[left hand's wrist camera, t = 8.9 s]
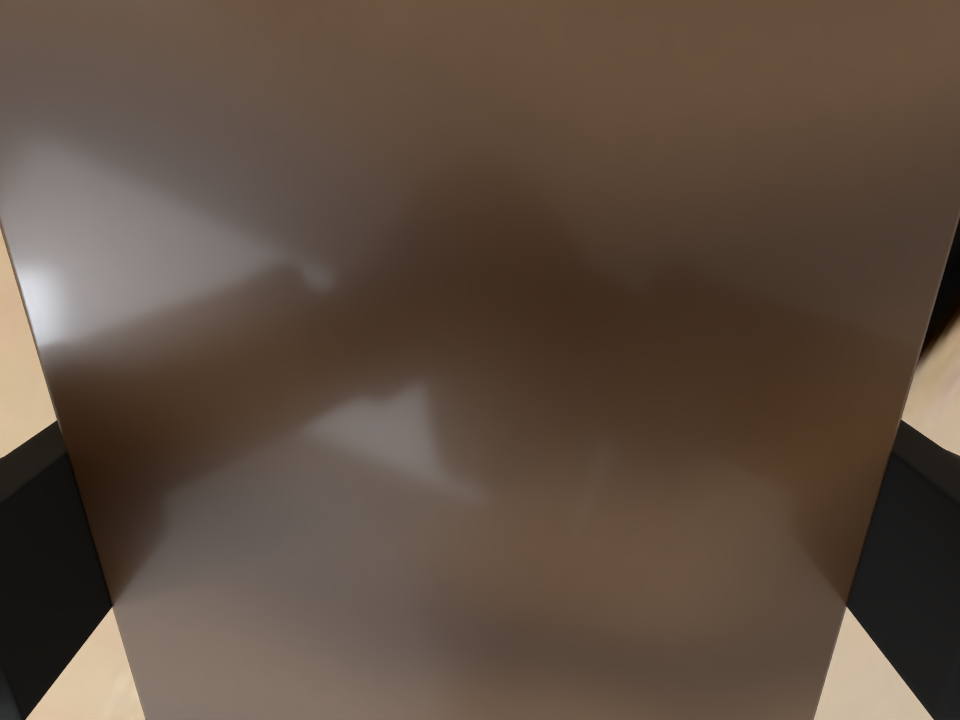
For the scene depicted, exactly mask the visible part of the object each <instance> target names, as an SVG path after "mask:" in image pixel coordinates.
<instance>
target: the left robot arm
mask: <svg viewBox="0 0 960 720" xmlns="http://www.w3.org/2000/svg"><path fill="white" fill-rule="evenodd" d="M847 607H848V609H849V610H850V611H851V613H852V614H853V615H854V616H855V618H856V619H857V620H858V622H859V623H860V624H861V626H862V627H863V628H864V629H865V631H866V632H867V633H868V635H869V636H870V637H871V639H872V640H873V641H874V642H875V644H876V645H877V646H878V648H879V649H880V650H881V652H882V653H883V654H884V655H885V657H886V658H887V659H888V661H889V662H890V663H891V665H892V666H893V667H894V668H895V670H896V671H897V672H898V674H899V675H900V676H901V678H902V679H903V680H904V681H905V683H906V684H907V685H908V687H909V688H910V689H911V691H912V692H913V693H914V694H915V696H916V697H917V698H918V700H919V701H920V702H921V704H922V705H923V706H924V707H925V709H926V710H927V711H928V713H929V714H930V715H931V717H932V718H933V719H934V720H960V456H959V455H956V454H954V453H952V452H950V451H947V450H945V449H943V448H942V447H940V446H939V445H937V444H936V443H934V442H933V441H931V440H930V439H929V438H927V437H926V436H924V435H923V434H921V433H920V432H918V431H917V430H915V429H914V428H913V427H911V426H910V425H908V424H907V423H905V422H904V421H902V420H901V421H900V424H899V428H898V431H897V435H896V438H895V441H894V445H893V448H892V452H891V455H890V459H889V462H888V465H887V469H886V472H885V476H884V479H883V483H882V486H881V490H880V493H879V496H878V500H877V503H876V507H875V510H874V514H873V517H872V521H871V524H870V527H869V531H868V534H867V538H866V541H865V545H864V548H863V551H862V555H861V558H860V562H859V565H858V569H857V572H856V576H855V579H854V582H853V586H852V589H851V593H850V596H849V600H848V603H847ZM111 608H112V604H111V601H110V597H109V594H108V590H107V587H106V584H105V580H104V577H103V573H102V570H101V567H100V563H99V560H98V556H97V553H96V550H95V546H94V543H93V540H92V536H91V533H90V529H89V526H88V523H87V519H86V516H85V512H84V509H83V506H82V502H81V499H80V496H79V492H78V489H77V485H76V482H75V479H74V475H73V472H72V468H71V465H70V462H69V458H68V455H67V451H66V448H65V445H64V441H63V438H62V435H61V431H60V428H59V424H58V421H55V422H54V423H53V424H51V425H50V426H48V427H47V428H45V429H44V430H42V431H41V432H39V433H38V434H37V435H35V436H34V437H32V438H31V439H29V440H28V441H26V442H25V443H23V444H22V445H21V446H19V447H18V448H16V449H15V450H13V451H12V452H10V453H9V454H7V455H6V456H4V457H2V458H0V720H25V719H26V718H27V717H28V716H29V714H30V713H31V712H32V710H33V709H34V708H35V706H36V705H37V704H38V703H39V701H40V700H41V699H42V697H43V696H44V695H45V693H46V692H47V691H48V690H49V688H50V687H51V686H52V684H53V683H54V682H55V681H56V679H57V678H58V677H59V675H60V674H61V673H62V671H63V670H64V669H65V668H66V666H67V665H68V664H69V662H70V661H71V660H72V658H73V657H74V656H75V655H76V653H77V652H78V651H79V649H80V648H81V647H82V645H83V644H84V643H85V642H86V640H87V639H88V638H89V636H90V635H91V634H92V632H93V631H94V630H95V629H96V627H97V626H98V625H99V623H100V622H101V621H102V619H103V618H104V617H105V616H106V614H107V613H108V612H109V610H110V609H111Z"/></svg>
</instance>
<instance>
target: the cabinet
mask: <svg viewBox="0 0 960 720" xmlns="http://www.w3.org/2000/svg"><path fill="white" fill-rule="evenodd" d="M959 218H960V0H0V228H1V231H2V235H3V238H4V241H5V245H6V248H7V252H8V255H9V258H10V262H11V265H12V269H13V272H14V275H15V279H16V282H17V286H18V289H19V292H20V296H21V299H22V302H23V306H24V309H25V313H26V316H27V319H28V323H29V326H30V330H31V333H32V336H33V340H34V343H35V346H36V350H37V353H38V357H39V360H40V363H41V367H42V370H43V374H44V377H45V380H46V384H47V387H48V391H49V394H50V397H51V401H52V404H53V407H54V411H55V414H56V418H57V421H58V424H59V428H60V431H61V435H62V438H63V441H64V445H65V448H66V451H67V455H68V458H69V462H70V465H71V468H72V472H73V475H74V479H75V482H76V485H77V489H78V492H79V496H80V499H81V502H82V506H83V509H84V512H85V516H86V519H87V523H88V526H89V529H90V533H91V536H92V540H93V543H94V546H95V550H96V553H97V556H98V560H99V563H100V567H101V570H102V573H103V577H104V580H105V584H106V587H107V590H108V594H109V597H110V601H111V604H112V607H113V611H114V614H115V617H116V621H117V624H118V628H119V631H120V634H121V638H122V641H123V645H124V648H125V651H126V655H127V658H128V661H129V665H130V668H131V672H132V675H133V678H134V682H135V685H136V689H137V692H138V695H139V699H140V702H141V706H142V709H143V712H144V716H145V719H146V720H814V716H815V713H816V710H817V706H818V703H819V699H820V696H821V692H822V689H823V686H824V682H825V679H826V675H827V672H828V668H829V665H830V661H831V658H832V655H833V651H834V648H835V644H836V641H837V637H838V634H839V631H840V627H841V624H842V620H843V617H844V613H845V610H846V606H847V603H848V600H849V596H850V593H851V589H852V586H853V582H854V579H855V576H856V572H857V569H858V565H859V562H860V558H861V555H862V551H863V548H864V545H865V541H866V538H867V534H868V531H869V527H870V524H871V521H872V517H873V514H874V510H875V507H876V503H877V500H878V496H879V493H880V490H881V486H882V483H883V479H884V476H885V472H886V469H887V465H888V462H889V459H890V455H891V452H892V448H893V445H894V441H895V438H896V435H897V431H898V428H899V424H900V421H901V417H902V414H903V410H904V407H905V404H906V400H907V397H908V393H909V390H910V386H911V383H912V380H913V376H914V373H915V369H916V366H917V362H918V359H919V355H920V352H921V349H922V345H923V342H924V338H925V335H926V331H927V328H928V325H929V321H930V318H931V314H932V311H933V307H934V304H935V300H936V297H937V294H938V290H939V287H940V283H941V280H942V276H943V273H944V270H945V266H946V263H947V259H948V256H949V252H950V249H951V245H952V242H953V239H954V235H955V232H956V228H957V225H958V221H959Z"/></svg>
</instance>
